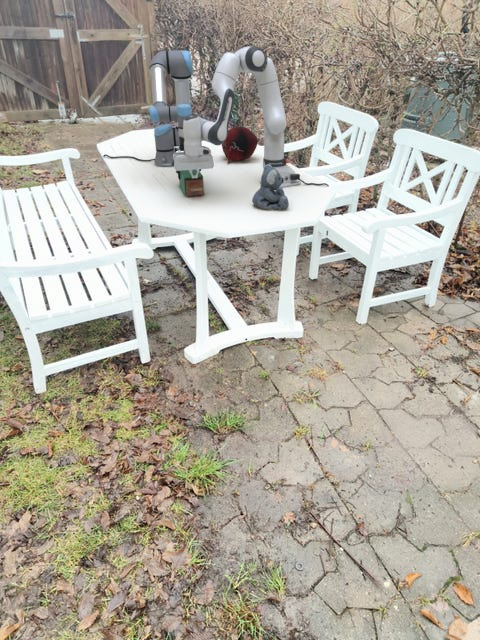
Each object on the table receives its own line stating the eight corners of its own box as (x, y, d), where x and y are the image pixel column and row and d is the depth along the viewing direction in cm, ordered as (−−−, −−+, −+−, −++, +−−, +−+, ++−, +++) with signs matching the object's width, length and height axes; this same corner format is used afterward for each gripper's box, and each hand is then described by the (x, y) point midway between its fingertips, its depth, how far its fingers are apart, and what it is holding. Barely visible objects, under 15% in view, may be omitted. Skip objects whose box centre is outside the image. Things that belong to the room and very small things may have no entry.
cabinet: (204, 194, 244) (203, 176, 238) (185, 196, 242) (183, 177, 236) (197, 183, 260) (196, 166, 254) (179, 185, 257) (178, 167, 252)
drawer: (206, 197, 237) (205, 182, 232) (188, 199, 235) (187, 184, 231) (197, 184, 256) (196, 170, 251) (181, 185, 254) (180, 171, 249)
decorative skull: (218, 132, 305) (218, 129, 282) (252, 124, 304) (255, 121, 281) (225, 164, 312) (225, 164, 288) (258, 157, 311) (261, 156, 288)
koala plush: (289, 210, 223) (292, 171, 212) (253, 212, 222) (254, 172, 211) (284, 198, 237) (286, 161, 226) (250, 200, 236) (250, 162, 225)
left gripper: (165, 139, 235) (169, 181, 247) (208, 136, 239) (210, 178, 252) (163, 136, 240) (167, 177, 253) (205, 133, 245) (207, 174, 258)
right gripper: (173, 153, 220) (175, 181, 228) (214, 150, 224) (214, 178, 232) (171, 150, 225) (173, 177, 233) (211, 147, 229) (212, 174, 237)
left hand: (189, 177), depth 253 cm, fingers closed on cabinet, 10 cm apart
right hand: (194, 178), depth 232 cm, fingers closed
